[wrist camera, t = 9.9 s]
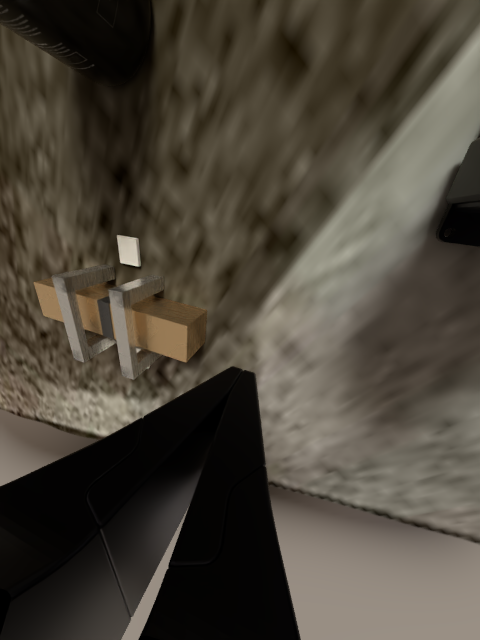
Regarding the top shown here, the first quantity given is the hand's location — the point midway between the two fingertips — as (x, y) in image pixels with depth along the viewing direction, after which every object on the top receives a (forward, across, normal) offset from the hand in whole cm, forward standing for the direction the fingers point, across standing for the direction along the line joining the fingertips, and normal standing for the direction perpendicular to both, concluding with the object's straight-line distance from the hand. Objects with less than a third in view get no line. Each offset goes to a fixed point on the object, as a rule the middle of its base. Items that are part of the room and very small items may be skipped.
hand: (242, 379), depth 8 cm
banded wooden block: (+11, +14, +5) cm, 19 cm away
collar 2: (+11, +12, +5) cm, 17 cm away
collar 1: (+11, +17, +5) cm, 21 cm away
